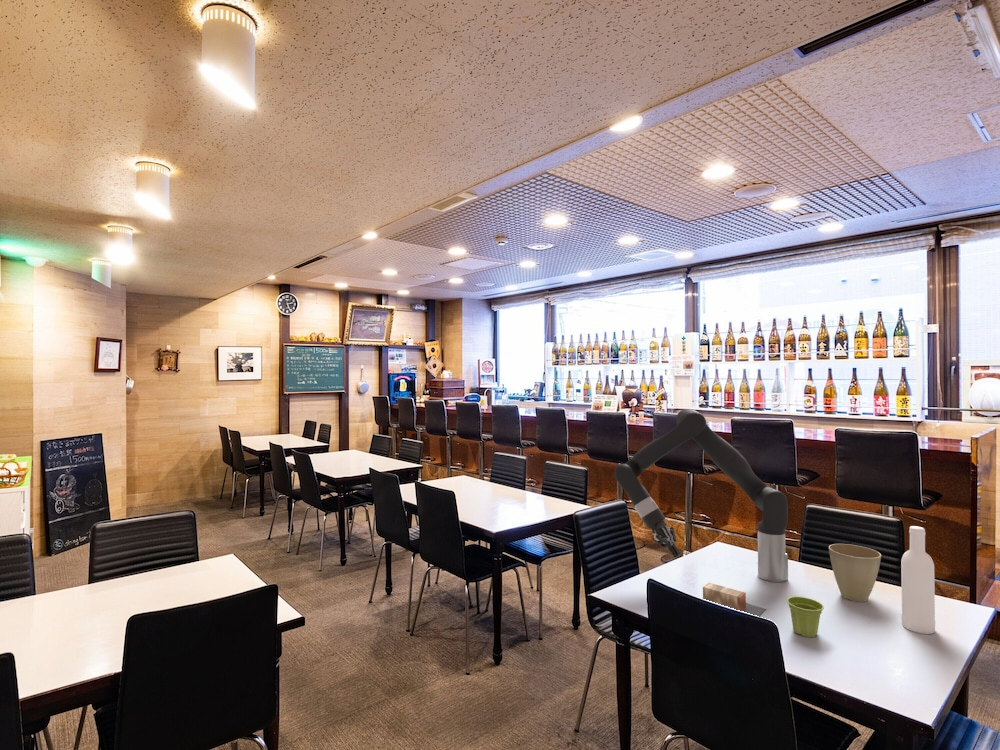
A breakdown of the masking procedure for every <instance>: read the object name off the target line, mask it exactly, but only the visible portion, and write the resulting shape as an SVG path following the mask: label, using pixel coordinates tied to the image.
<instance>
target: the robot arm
mask: <svg viewBox="0 0 1000 750" xmlns="http://www.w3.org/2000/svg"><path fill="white" fill-rule="evenodd" d="M675 422H676V426H674V427H673V428H672V429H671V430H670V431H669V432H667V433H666V434H664V435H662V436H660V437H658V438H656V439H654V440H652V441H650V442H649V443H648V444H646V445H645V446H643V447H641V448H640V449H639V450H638V451H636V452H635V454H633V456H632V457H631V459H629V460H628V461H627V462H625V463H620V464H618V465H617V466H615V469H614V472H613V474H614V477H615V479H616V481H617V482H618V483H619V485H620V487H622V490H624V492H625V493H626V495H627V497H628V498H629V500H630V501H631V503H632V505H633V506H634V509H636V512H637V515H639V517H640V518H641V521H642V522H643V523H644V525H645V526H646V528H647V529H651V531H652V533H653V537H652V540H653V541H654V542H655V543H657V544H658V545H659V546H660V547H662V548H663V549H668V551H670V553H671V554H672V556H673V557H674V558H678V557H679V556H680V555H681V552H680V550H679V549H678V547H677V546H676V542H677V537H676V531H675V528H674V527H673V526H669V525H668V524H667V523H666V521H665V520H666V517H665V515H664V514H663V512H662V511H661V509H660V508H659V506H658V504H657V503H656V502H655V500H654V499H653V498H652V497H651V495H650V493H649V492H648V490H647V489H646V487H645V486H644V485H643V484H642V483H641V482H640V480H639V477H640V475H641V474H642V473H644V471H645V470H647V469H649V468H650V467H651V466H652V465H654V464H656V462H658V461H659V460H660V459H662V458H663V457H664V456H666V455H667V454H668V453H670V452H671V451H673V450H674V449H676V448H678V447H679V446H681V445H683V444H684V443H686V442H688V441H689V440H691V439H692V440H693V441H695V442H696V444H698V446H699V447H700V448H701V449H702V450H703V451H704V453H705V454H706V456H708V457H709V459H710V460H711V461H712V462H713V463H714V465H716V467H718V468H719V470H721V472H723V473H724V474H725V475H726V477H728V478H729V479H730V480H731V481H733V483H735V484H736V485H737V486H739V487H740V488H741V489H742V490H743V492H745V494H746V495H747V496H748V498H749V499H750V500H751V501H752V502H753V504H754V505H755V506H756V507H757V508H758V509H759V510H761V511H762V520H761V521H758V523H757V577H759V578H760V579H762V580H764V581H767V582H772V583H773V582H774V583H781V582H785V581H789V554H788V553H786V528H787V527H788V523H789V521H788V520H789V502H788V498H787V495H785V493H784V492H782V491H780V490H778V489H774V488H772V487H771V486H769V485H768V484H766V483H765V482H764V481H762V480H761V479H760V478H759V477H758V476H757V475H756V474H755V472H754V471H753V469H752V468H751V466H750V464H749V462H748V461H747V460H746V458H745V457H744V456H743V455H742V454H741V453H740V452H739V451H738V449H736V448H735V447H734V446H732V445H731V444H730V443H729V442H728V441H726V440H725V439H724V438H723V437H722V436H720V435H718V434H717V433H716V432H715V431H714V430H712V428H710V427H709V425H708V424H707V420H706V418H705V416H704V415H703V414H702V413H701V412H699V411H697V410H695V409H691V408H685V409H682V410H680V411H679V412H678V413H677V415H676V419H675Z"/></svg>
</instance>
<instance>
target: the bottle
mask: <svg viewBox="0 0 1000 750" xmlns="http://www.w3.org/2000/svg"><path fill="white" fill-rule="evenodd" d="M908 533H909V549H908V550H907V551H905V552H904V553H903V555H902V557H901V560H900V561H901V564H900V568H901V571H900V573H901V574H900V575H901V577H900V578H901V579H900V580H901V583H900V584H901V614H900V615H901V625H902V627H904V628H905V629H907V630H909V631H911V632H914V633H917V634H923V635H931V634H933V633H935V631H936V616H935V615H936V607H935V606H936V604H935V603H936V601H935V600H936V599H935V594H936V593H935V592H936V591H935V587H936V586H935V584H936V583H935V563H934V561H933V559H932V557H931V555H930V554H928V553H927V552H926V529H925V528H924V527H921V526H917V525H910V526H909V530H908Z"/></svg>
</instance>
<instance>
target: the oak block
mask: <svg viewBox="0 0 1000 750" xmlns="http://www.w3.org/2000/svg"><path fill="white" fill-rule="evenodd" d="M703 599H706V600H709V601H712V602H715V603H718V604H721V605H724V606H728V607H730V608H734V609H736V610H740V611H743V610H744V609H745V608H746V603H747V592H745V591H741V590H737V589H734V588H730V587H726V586H723V585H720V584H715V583H712V582H708V583H706V584H705V585H703V586H702V600H703Z"/></svg>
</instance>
